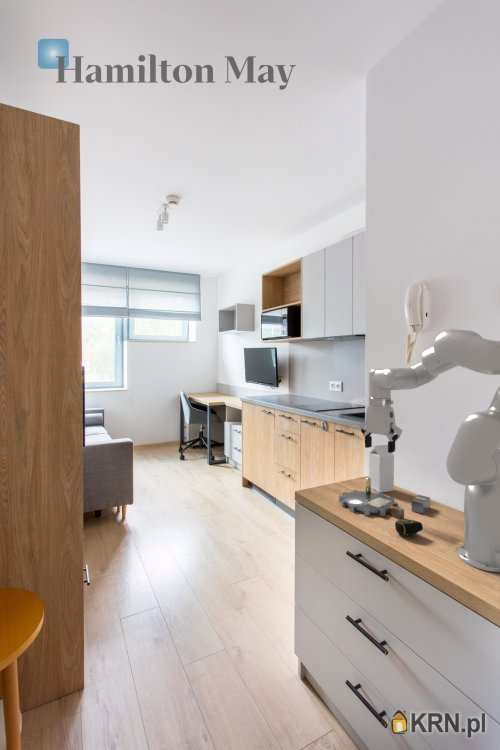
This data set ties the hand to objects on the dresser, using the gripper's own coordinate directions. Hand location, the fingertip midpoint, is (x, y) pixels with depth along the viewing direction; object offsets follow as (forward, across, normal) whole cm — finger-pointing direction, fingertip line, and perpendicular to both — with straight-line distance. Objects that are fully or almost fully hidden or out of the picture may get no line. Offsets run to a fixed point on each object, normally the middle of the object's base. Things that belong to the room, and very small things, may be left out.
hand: (379, 449), depth 130 cm
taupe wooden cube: (+22, -8, 0) cm, 23 cm away
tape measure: (+22, -19, +7) cm, 30 cm away
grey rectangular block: (+22, -8, -13) cm, 27 cm away
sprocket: (+22, +5, 0) cm, 22 cm away
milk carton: (+22, +13, -19) cm, 32 cm away
